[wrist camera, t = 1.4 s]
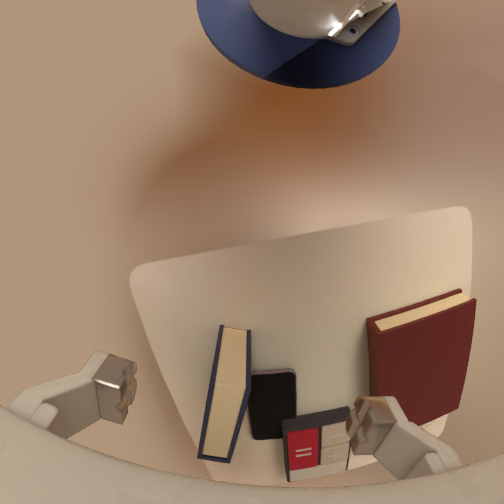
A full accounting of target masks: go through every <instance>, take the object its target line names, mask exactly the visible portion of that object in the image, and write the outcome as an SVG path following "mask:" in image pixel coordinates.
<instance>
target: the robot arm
mask: <svg viewBox="0 0 504 504" xmlns="http://www.w3.org/2000/svg"><path fill="white" fill-rule="evenodd" d="M397 1H398V0H249V2H250V5H251V7H252V9H253V10H254V12H255V13H256V14H257V16H258V17H259V18H260V19H261V20H262V21H264V22H265V23H266V24H268V25H269V26H271V27H272V28H274V29H276V30H278V31H280V32H282V33H285V34H288V35H291V36H295V37H300V38H307V39H328V40H331V41H333V42H336V43H339V44H341V45H345V46H352V45H353V44H355V43H356V42H357V41H358V40H359V39H360V38H361V37H362V36H363V35H364V34H365V33H366V32H367V31H368V30H369V29H370V28H371V27H372V26H373V25H374V24H375V23H376V22H377V21H378V20H379V19H380V18H381V17H382V16H383V15H384V14H385V13H386V12H387V11H388V10H389V9H390V8H391V7H392V6H393V5H394V4H395V3H396V2H397ZM350 30H351V31H353V32H354V34H352V33H351V32H350ZM136 371H137V366H136V362H134V361H130V360H127V359H124V358H121V357H117V356H115V355H111V354H108V353H105V352H102V351H95V352H94V354H93V355H92V356H91V357H90V359H89V360H88V361H87V363H86V364H85V365H84V367H83V368H82V369H81V371H80V372H79V373H78V374H75V373H74V374H70V375H67V376H65V377H61V378H58V379H56V380H52V381H49V382H46V383H43V384H40V385H36V386H33V387H30V388H27V389H24V390H22V391H21V392H20V393H19V394H18V395H17V397H16V398H15V399H14V400H13V401H12V402H11V404H10V405H9V406H8V407H7V408H4V407H2V406H1V405H0V504H504V453H501V454H498V455H496V456H493V457H490V458H487V459H484V460H481V461H478V462H475V463H472V464H468V465H465V466H463V464H462V462H461V461H460V459H459V457H458V456H457V454H456V452H455V451H454V449H453V448H452V447H451V446H449V445H447V444H446V443H444V442H443V441H441V440H439V439H438V438H436V437H435V436H433V435H432V434H430V433H429V432H427V431H425V430H424V429H422V428H421V427H419V426H418V425H416V424H415V423H413V422H409V421H408V419H407V418H406V416H405V414H404V412H403V410H402V409H401V407H400V405H399V403H398V402H397V400H396V398H395V397H393V396H382V397H371V396H359V397H358V398H357V399H356V401H355V403H354V406H355V409H353V410H352V411H350V412H349V414H348V416H347V418H346V424H345V427H346V432H347V435H348V436H350V437H351V438H352V440H351V441H350V445H351V448H352V451H353V454H354V455H373V456H374V457H375V458H376V459H377V460H378V461H379V462H380V463H381V464H382V465H383V466H384V467H385V468H386V469H388V471H389V472H390V473H391V474H393V476H395V477H396V478H397V479H398V481H393V482H385V483H377V484H368V485H358V486H344V487H323V488H289V487H288V488H287V487H267V486H254V485H243V484H234V483H226V482H219V481H212V480H206V479H200V478H194V477H189V476H184V475H179V474H174V473H170V472H166V471H161V470H157V469H153V468H150V467H146V466H142V465H138V464H135V463H132V462H128V461H125V460H122V459H118V458H115V457H113V456H109V455H106V454H104V453H101V452H98V451H95V450H92V449H90V448H87V447H85V446H82V445H80V444H77V443H75V442H72V441H70V440H67V438H69V437H71V436H72V435H74V434H75V433H77V432H79V431H81V430H83V429H84V428H86V427H88V426H89V425H91V424H93V423H94V422H96V421H98V420H99V419H100V418H102V419H105V420H108V421H112V422H115V423H118V424H123V422H124V420H125V418H126V416H127V414H128V406H129V405H131V404H132V402H133V400H134V397H135V393H136V387H137V380H136V379H135V378H134V375H135V373H136Z"/></svg>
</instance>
